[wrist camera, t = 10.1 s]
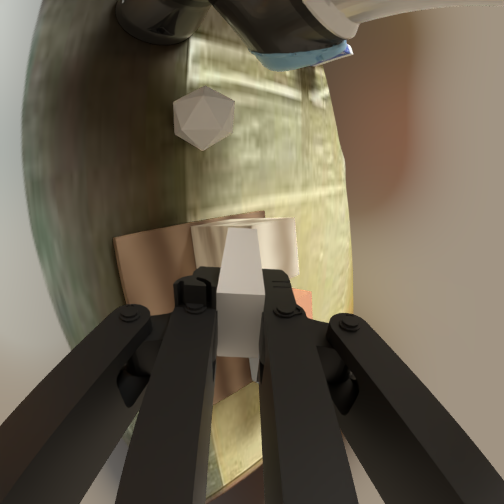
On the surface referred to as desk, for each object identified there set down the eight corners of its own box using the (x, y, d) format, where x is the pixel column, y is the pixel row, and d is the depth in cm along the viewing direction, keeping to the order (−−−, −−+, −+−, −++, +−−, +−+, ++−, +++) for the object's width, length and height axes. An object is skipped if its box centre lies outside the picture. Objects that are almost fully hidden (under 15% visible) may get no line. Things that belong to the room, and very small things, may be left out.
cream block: (198, 276, 38) (258, 292, 29) (190, 226, 36) (251, 225, 28) (236, 264, 42) (299, 274, 33) (230, 219, 41) (294, 217, 32)
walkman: (299, 64, 53) (341, 48, 44) (295, 54, 52) (337, 38, 43) (315, 67, 58) (355, 54, 49) (312, 58, 57) (351, 45, 48)
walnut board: (166, 422, 36) (171, 427, 35) (112, 237, 30) (115, 237, 29) (273, 361, 53) (278, 364, 52) (258, 211, 47) (264, 210, 46)
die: (196, 165, 39) (255, 136, 36) (163, 148, 30) (232, 109, 28) (183, 123, 39) (236, 95, 37) (151, 102, 31) (213, 65, 28)
